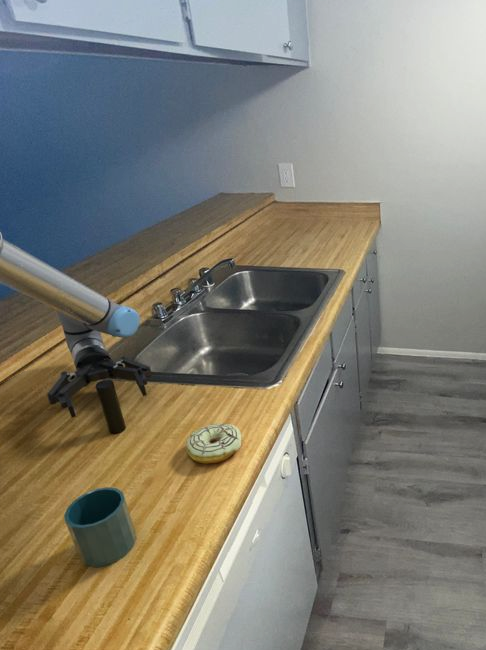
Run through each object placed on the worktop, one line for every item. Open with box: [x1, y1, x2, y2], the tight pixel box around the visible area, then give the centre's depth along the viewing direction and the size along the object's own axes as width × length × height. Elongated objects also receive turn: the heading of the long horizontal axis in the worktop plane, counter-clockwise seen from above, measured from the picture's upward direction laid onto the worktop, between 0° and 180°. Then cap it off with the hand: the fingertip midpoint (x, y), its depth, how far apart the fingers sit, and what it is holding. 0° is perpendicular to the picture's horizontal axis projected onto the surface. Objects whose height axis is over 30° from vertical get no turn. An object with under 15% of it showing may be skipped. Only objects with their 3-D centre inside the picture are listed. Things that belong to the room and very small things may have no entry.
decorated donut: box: [185, 423, 243, 465], centre depth 98 cm, size 10×11×4 cm
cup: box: [63, 486, 137, 568], centre depth 76 cm, size 8×8×9 cm
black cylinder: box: [94, 379, 127, 435], centre depth 101 cm, size 3×3×12 cm
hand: (109, 400), depth 102 cm, fingers open, 13 cm apart
